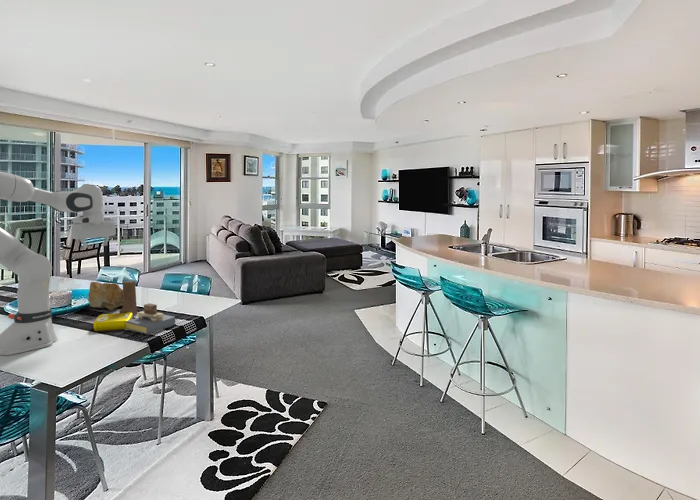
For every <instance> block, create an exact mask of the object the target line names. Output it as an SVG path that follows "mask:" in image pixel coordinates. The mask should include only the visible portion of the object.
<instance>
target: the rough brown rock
mask: <svg viewBox="0 0 700 500" xmlns="http://www.w3.org/2000/svg"><path fill="white" fill-rule="evenodd" d="M87 295H88V299H87V300H88V303H89V302H90V304H89V306H90V307H91V308H94V309H96V308H99V309H102V308H103V309H105V308H106V309H108V310H109V311H113V310H114V309H117V308H118V307H123V304H124V298H123V288H121V287H120V285H119V284H117V283H115V282H113V283H111V282H110V283H109V282H104V283H102V282H98V281H91V282H90V284H89V291H88V294H87Z"/></svg>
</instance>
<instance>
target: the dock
mask: <svg viewBox="0 0 700 500" xmlns="http://www.w3.org/2000/svg"><path fill="white" fill-rule="evenodd" d="M162 314H163V320H161V321H157V322H152V321H151V318H145V319H139V317H135V318H133V319H132V320H128V321H126V328H127V329H126V330H128V331H131V332H135V331H136V332H135V333H139V332H140V334H143V333H144V334H145V335H149V334H152V333H155V331H156V332H158V330H159V331H162V330H164V329H167V328H171V327H173V325H174V326H176V316H173V315H167V314H164V313H162ZM161 329H162V330H161Z"/></svg>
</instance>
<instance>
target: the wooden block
mask: <svg viewBox="0 0 700 500" xmlns="http://www.w3.org/2000/svg"><path fill="white" fill-rule="evenodd" d="M122 290H123V298H124V304H123V306H121V307H122V308H121V309H120V310H119V311H118V313H128V312H131V313H132V314H133V317H134V316H136V315H138V312H137V311H138V309H137V308H138V307H137V293H136V291H137V289H136V281H135V280H126V281H125V280H124V281H123V282H122Z"/></svg>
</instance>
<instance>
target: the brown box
mask: <svg viewBox="0 0 700 500" xmlns="http://www.w3.org/2000/svg"><path fill="white" fill-rule="evenodd" d="M143 311H144V313H146V314H151V315H152V314H155V313H157V312H158V305H157V304H154V303H146V304H143Z"/></svg>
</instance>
